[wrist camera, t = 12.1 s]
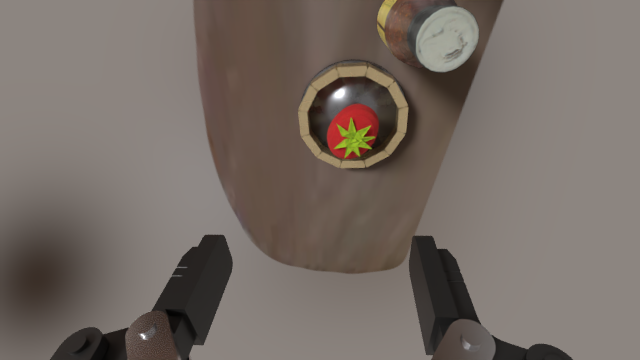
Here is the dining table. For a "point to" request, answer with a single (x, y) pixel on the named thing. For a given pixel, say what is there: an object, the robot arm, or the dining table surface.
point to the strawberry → (352, 131)
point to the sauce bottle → (428, 32)
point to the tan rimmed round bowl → (347, 89)
